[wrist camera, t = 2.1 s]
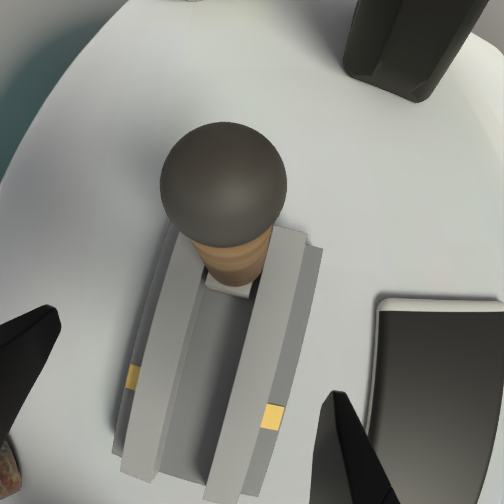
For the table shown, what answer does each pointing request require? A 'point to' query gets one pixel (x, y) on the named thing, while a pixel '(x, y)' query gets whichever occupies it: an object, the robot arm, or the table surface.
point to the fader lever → (225, 200)
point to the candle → (8, 472)
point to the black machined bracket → (408, 42)
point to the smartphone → (436, 396)
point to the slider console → (215, 368)
